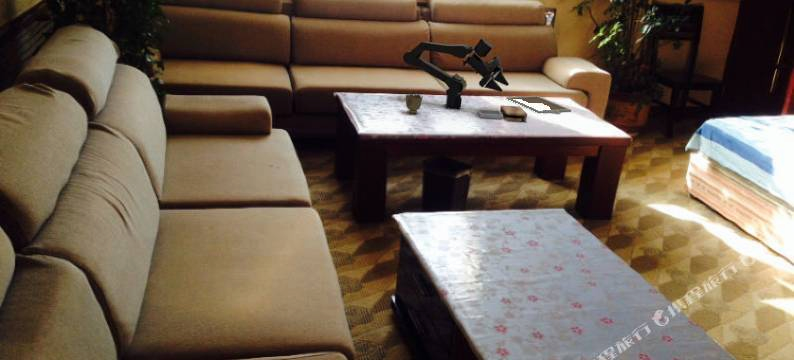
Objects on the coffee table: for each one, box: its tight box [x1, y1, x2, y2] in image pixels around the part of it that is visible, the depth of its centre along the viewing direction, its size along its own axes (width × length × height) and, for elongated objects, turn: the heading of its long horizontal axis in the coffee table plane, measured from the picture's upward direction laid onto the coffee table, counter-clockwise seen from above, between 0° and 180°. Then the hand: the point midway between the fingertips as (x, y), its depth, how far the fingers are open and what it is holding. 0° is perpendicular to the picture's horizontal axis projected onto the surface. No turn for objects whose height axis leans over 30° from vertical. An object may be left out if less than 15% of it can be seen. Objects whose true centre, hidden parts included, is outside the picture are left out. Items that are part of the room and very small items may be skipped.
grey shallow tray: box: [476, 108, 504, 120], centre depth 290 cm, size 10×8×2 cm
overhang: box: [499, 105, 528, 123], centre depth 291 cm, size 9×13×4 cm
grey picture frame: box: [505, 95, 572, 115], centre depth 316 cm, size 19×2×30 cm
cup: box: [405, 93, 424, 115], centre depth 285 cm, size 8×7×8 cm
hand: (505, 88), depth 289 cm, fingers open, 9 cm apart
